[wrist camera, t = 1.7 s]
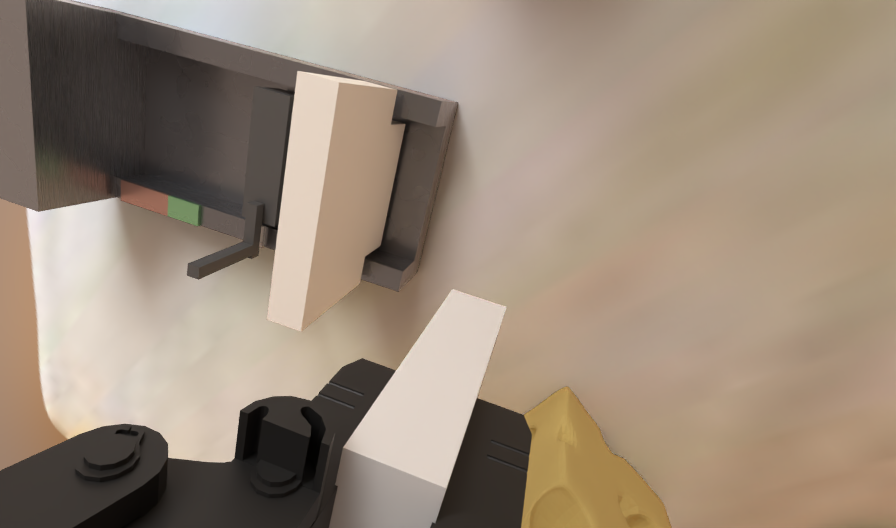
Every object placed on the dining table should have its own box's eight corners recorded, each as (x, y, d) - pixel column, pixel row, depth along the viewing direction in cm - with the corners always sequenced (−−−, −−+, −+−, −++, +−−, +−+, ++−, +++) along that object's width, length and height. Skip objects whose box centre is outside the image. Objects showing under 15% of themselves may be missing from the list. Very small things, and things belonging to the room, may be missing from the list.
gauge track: (457, 102, 26) (412, 98, 18) (417, 272, 29) (364, 326, 22) (111, 9, 29) (-49, -27, 21) (112, 172, 32) (-25, 189, 25)
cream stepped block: (412, 91, 24) (339, 82, 16) (375, 271, 28) (300, 331, 20) (322, 67, 25) (212, 47, 17) (297, 245, 28) (196, 294, 21)
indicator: (312, 97, 25) (225, 93, 19) (292, 248, 28) (211, 287, 22) (279, 88, 26) (182, 80, 19) (262, 238, 29) (174, 274, 22)
